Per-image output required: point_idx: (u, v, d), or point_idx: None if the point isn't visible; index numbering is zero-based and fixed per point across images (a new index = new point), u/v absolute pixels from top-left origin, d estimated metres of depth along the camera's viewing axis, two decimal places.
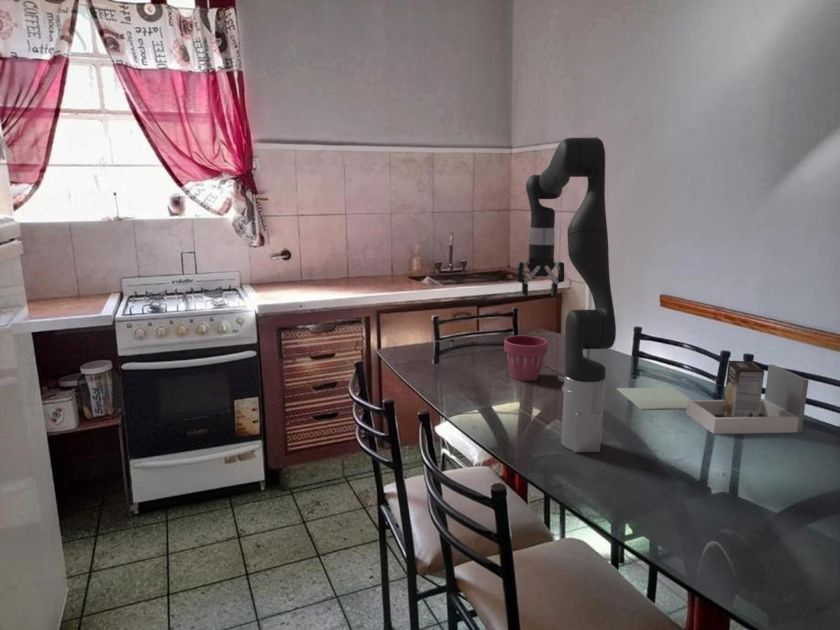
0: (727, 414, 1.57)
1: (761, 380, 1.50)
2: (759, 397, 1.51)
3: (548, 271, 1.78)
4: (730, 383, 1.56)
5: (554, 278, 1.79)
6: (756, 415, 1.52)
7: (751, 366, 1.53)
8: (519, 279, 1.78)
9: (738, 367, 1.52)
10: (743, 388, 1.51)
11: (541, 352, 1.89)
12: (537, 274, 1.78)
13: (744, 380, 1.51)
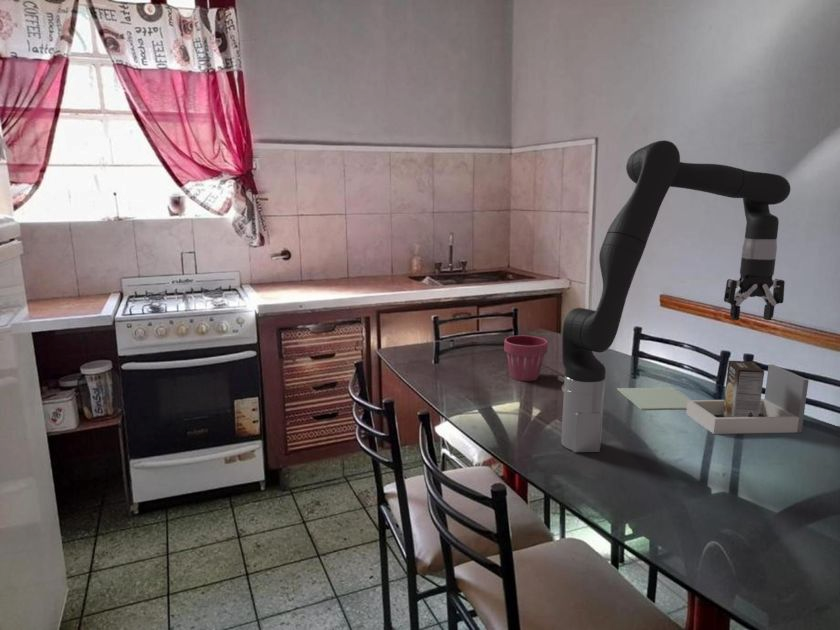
0: (727, 414, 1.57)
1: (761, 380, 1.50)
2: (759, 397, 1.51)
3: (766, 291, 1.49)
4: (730, 383, 1.56)
5: (772, 299, 1.50)
6: (756, 415, 1.52)
7: (751, 366, 1.53)
8: (731, 300, 1.49)
9: (738, 367, 1.52)
10: (743, 388, 1.51)
11: (541, 352, 1.89)
12: (752, 294, 1.49)
13: (744, 380, 1.51)
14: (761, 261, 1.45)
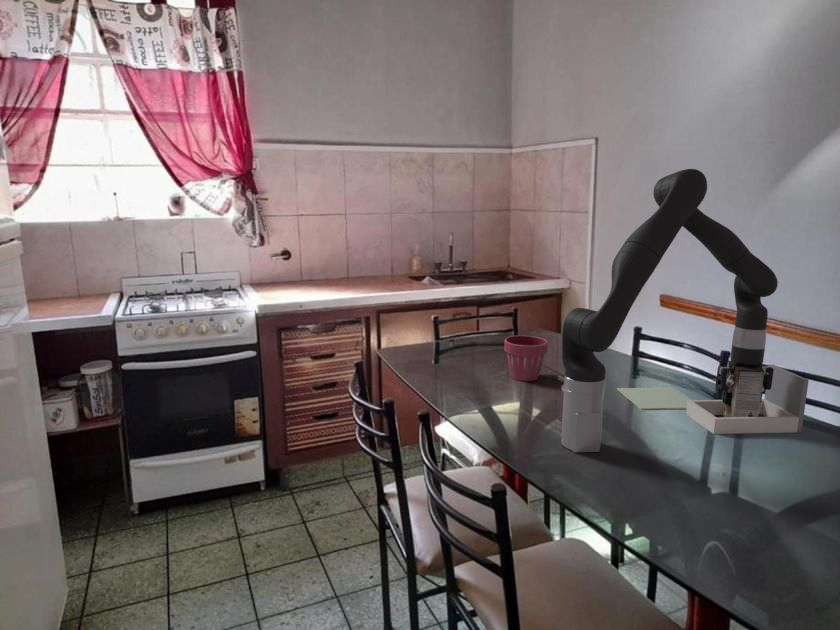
0: (727, 414, 1.57)
1: (761, 380, 1.50)
2: (759, 397, 1.51)
3: None
4: None
5: None
6: (756, 415, 1.52)
7: (751, 366, 1.53)
8: (723, 387, 1.54)
9: (738, 367, 1.52)
10: (743, 388, 1.51)
11: (541, 352, 1.89)
12: None
13: (744, 380, 1.51)
14: (751, 351, 1.50)
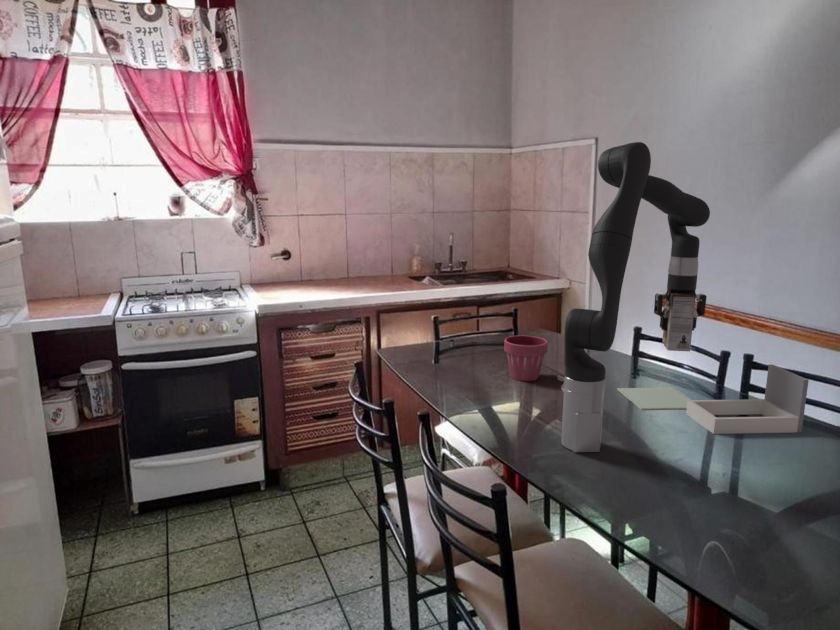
0: (665, 339, 1.70)
1: (693, 304, 1.62)
2: (691, 320, 1.63)
3: None
4: None
5: (694, 311, 1.66)
6: (689, 337, 1.64)
7: (685, 293, 1.65)
8: (659, 312, 1.66)
9: (673, 293, 1.65)
10: (677, 312, 1.63)
11: (541, 352, 1.89)
12: None
13: (677, 304, 1.63)
14: (683, 277, 1.62)
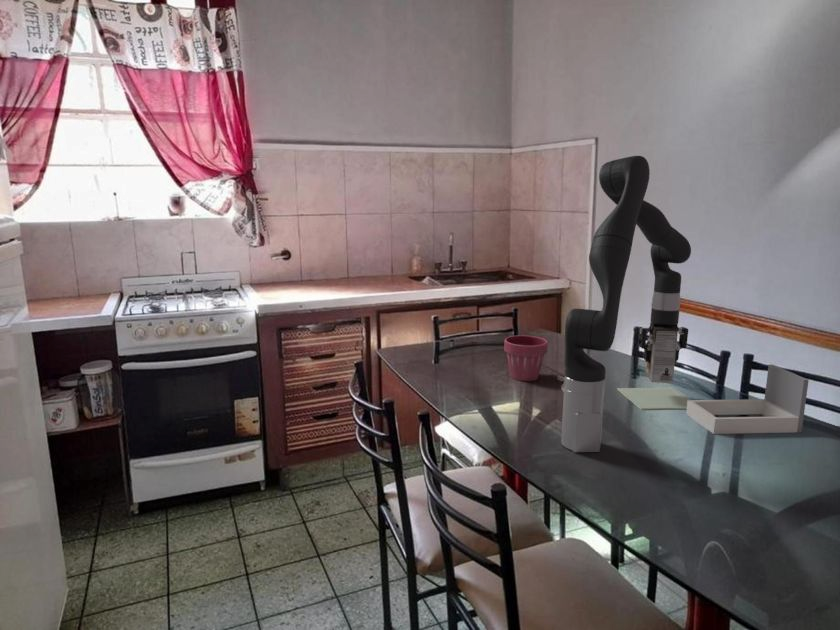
0: (648, 370, 1.75)
1: (675, 338, 1.67)
2: (673, 353, 1.68)
3: None
4: None
5: None
6: (672, 370, 1.69)
7: None
8: (643, 346, 1.71)
9: (656, 327, 1.70)
10: (660, 346, 1.69)
11: (541, 352, 1.89)
12: None
13: (660, 338, 1.68)
14: (666, 312, 1.67)
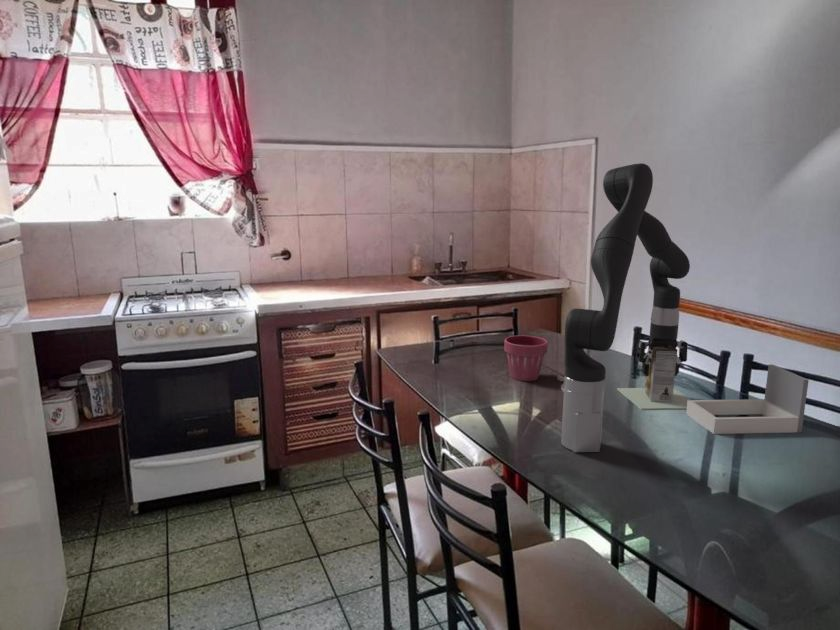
0: (647, 389, 1.76)
1: (675, 358, 1.69)
2: (673, 373, 1.70)
3: None
4: None
5: None
6: (671, 389, 1.71)
7: None
8: (641, 359, 1.72)
9: (655, 347, 1.71)
10: (659, 365, 1.70)
11: (541, 352, 1.89)
12: None
13: (660, 358, 1.69)
14: (665, 327, 1.68)
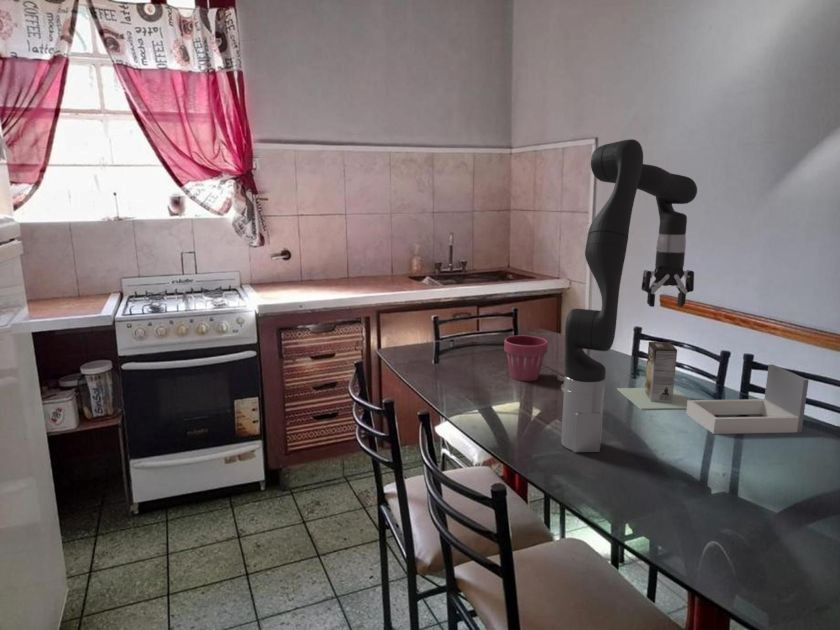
0: (647, 389, 1.76)
1: (675, 358, 1.69)
2: (673, 373, 1.70)
3: (677, 280, 1.67)
4: (650, 361, 1.74)
5: (683, 287, 1.68)
6: (671, 389, 1.71)
7: (667, 346, 1.72)
8: (646, 289, 1.68)
9: (655, 347, 1.71)
10: (659, 365, 1.70)
11: (541, 352, 1.89)
12: (665, 283, 1.68)
13: (660, 358, 1.69)
14: (671, 254, 1.64)
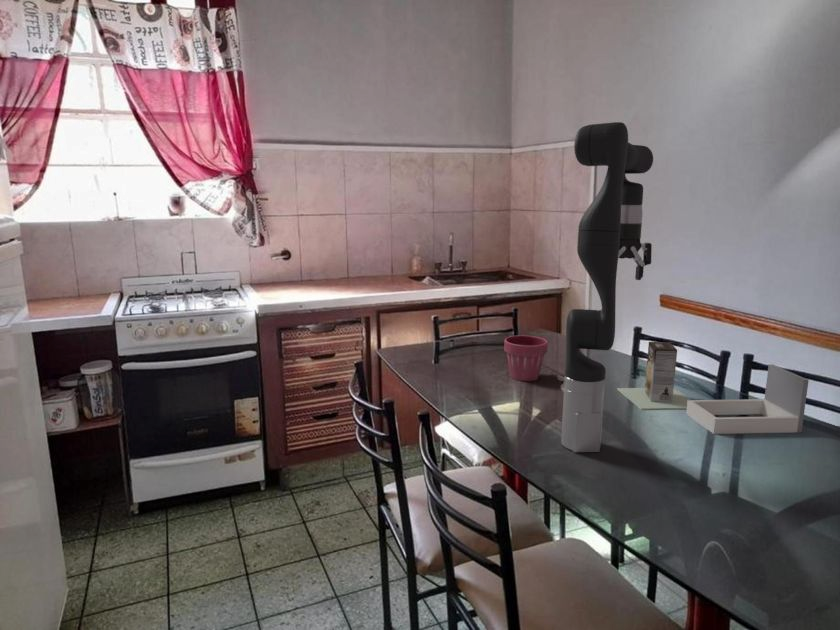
0: (647, 389, 1.76)
1: (675, 358, 1.69)
2: (673, 373, 1.70)
3: (634, 252, 1.63)
4: (650, 361, 1.74)
5: (640, 260, 1.64)
6: (671, 389, 1.71)
7: (667, 346, 1.72)
8: None
9: (655, 347, 1.71)
10: (659, 365, 1.70)
11: (541, 352, 1.89)
12: (622, 256, 1.64)
13: (660, 358, 1.69)
14: (627, 225, 1.60)
